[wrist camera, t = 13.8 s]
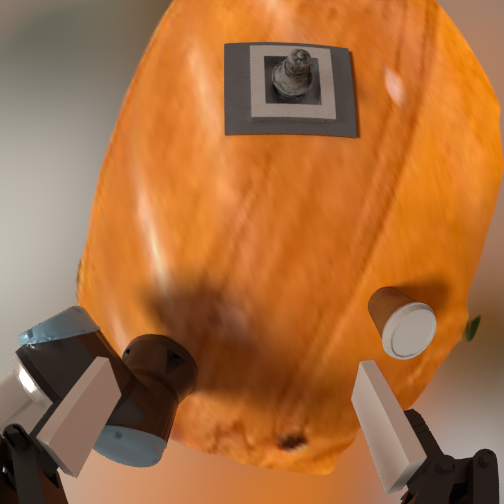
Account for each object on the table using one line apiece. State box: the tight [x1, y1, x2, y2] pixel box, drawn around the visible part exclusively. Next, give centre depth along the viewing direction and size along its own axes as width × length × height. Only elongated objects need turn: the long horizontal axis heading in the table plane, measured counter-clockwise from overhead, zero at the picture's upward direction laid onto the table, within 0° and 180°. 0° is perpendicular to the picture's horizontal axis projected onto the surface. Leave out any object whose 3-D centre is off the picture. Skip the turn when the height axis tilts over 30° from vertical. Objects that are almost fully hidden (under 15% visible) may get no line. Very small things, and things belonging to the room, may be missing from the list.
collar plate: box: [224, 42, 357, 138], centre depth 35 cm, size 20×16×4 cm
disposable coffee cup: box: [368, 287, 436, 360], centre depth 40 cm, size 10×10×12 cm
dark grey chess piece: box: [272, 49, 314, 100], centre depth 30 cm, size 6×6×12 cm
